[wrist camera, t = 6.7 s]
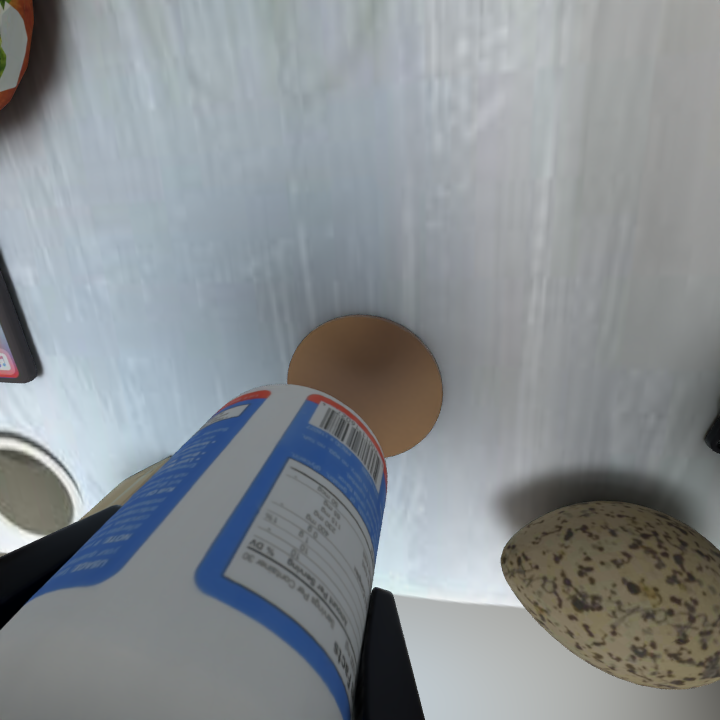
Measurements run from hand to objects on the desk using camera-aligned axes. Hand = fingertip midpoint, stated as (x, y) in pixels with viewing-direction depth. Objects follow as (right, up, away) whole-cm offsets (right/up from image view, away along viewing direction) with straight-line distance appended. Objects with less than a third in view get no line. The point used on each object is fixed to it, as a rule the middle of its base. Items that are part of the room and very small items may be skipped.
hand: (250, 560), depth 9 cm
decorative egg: (+19, -7, +9) cm, 22 cm away
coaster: (+3, +3, +12) cm, 13 cm away
